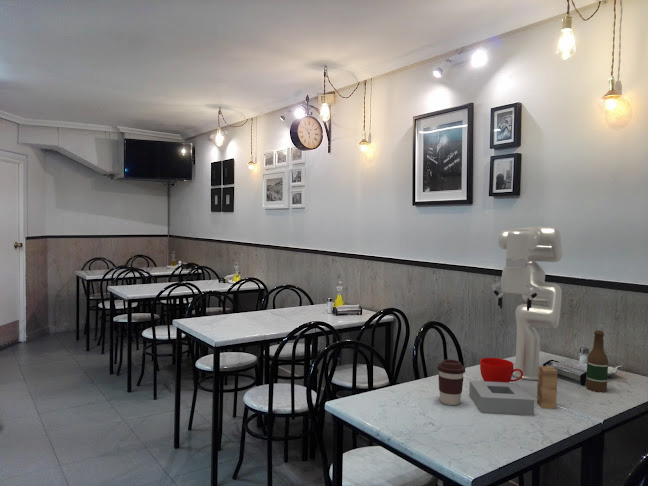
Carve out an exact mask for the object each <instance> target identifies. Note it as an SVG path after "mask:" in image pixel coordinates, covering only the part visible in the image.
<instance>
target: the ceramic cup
mask: <svg viewBox="0 0 648 486" xmlns="http://www.w3.org/2000/svg"><path fill="white" fill-rule="evenodd" d="M479 369H480V376H481V378H482V380H483V381H486V382H507V383H514V382H518V381H519V380H521V378H522V377H523V372H522V370H520V369H515V364H514V362H513V361H510V360H507V359H504V358H497V357H484V358H481V359H480V361H479ZM514 371H520V372H521V376H520V377H519V378H515V379H512V377H513V375H512V374H513V372H514Z"/></svg>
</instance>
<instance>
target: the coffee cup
mask: <svg viewBox="0 0 648 486" xmlns="http://www.w3.org/2000/svg"><path fill="white" fill-rule="evenodd" d="M436 369H437V371H438V391H439V401H440V402H441V403H442V404H443V405H448V406H458V405H459V404H460V403H461V397H462V393H463V385H464V374H465V373H466V366H464V365H463V364H462V362H461V361H459V360H456V359H443V360H442V361H441V362H440V363H438V364H437V368H436Z"/></svg>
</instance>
